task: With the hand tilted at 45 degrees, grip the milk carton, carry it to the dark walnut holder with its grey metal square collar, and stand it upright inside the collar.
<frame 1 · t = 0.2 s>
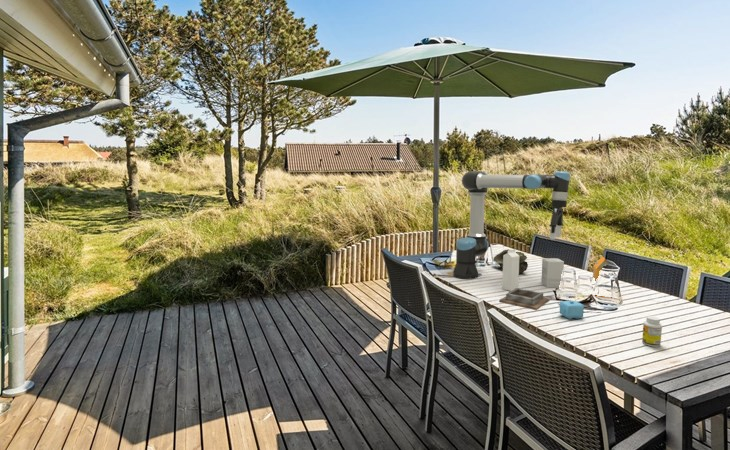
hand: (555, 238, 220), 27 cm above the table, tool pointing down, fingers open, 13 cm apart
orange juice: (601, 294, 207), on the table
supplement bottle: (650, 344, 147), on the table
supplement box: (551, 285, 225), on the table
hollow geode rock: (510, 271, 258), on the table
light blue block: (568, 317, 175), on the table
holder: (524, 301, 197), on the table
milk: (509, 289, 219), on the table
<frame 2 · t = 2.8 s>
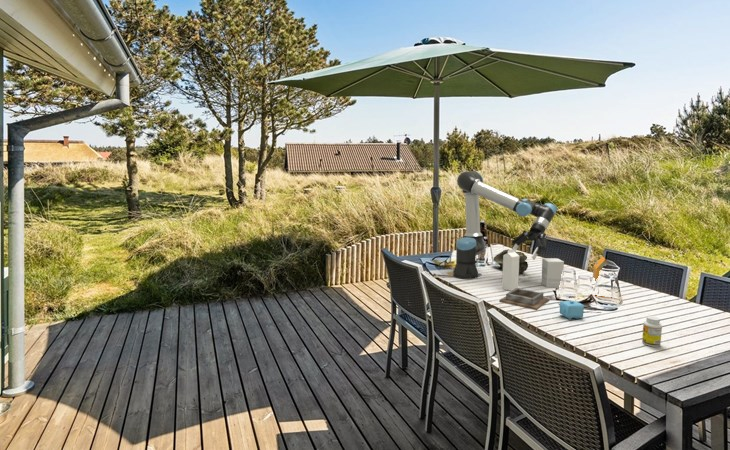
hand: (521, 256, 219), 18 cm above the table, tool tilted 45°, fingers open, 13 cm apart
nothing on the table moved.
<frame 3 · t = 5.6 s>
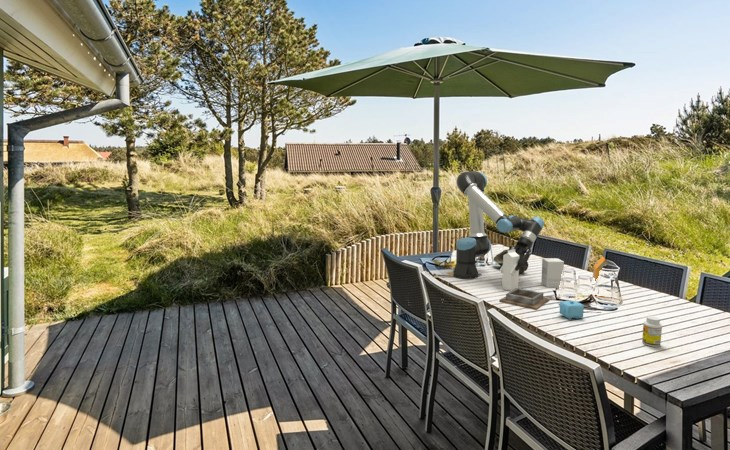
hand: (506, 273, 215), 9 cm above the table, tool tilted 45°, fingers closed on milk, 6 cm apart
milk: (509, 289, 219), on the table, touching gripper
everything else where it was.
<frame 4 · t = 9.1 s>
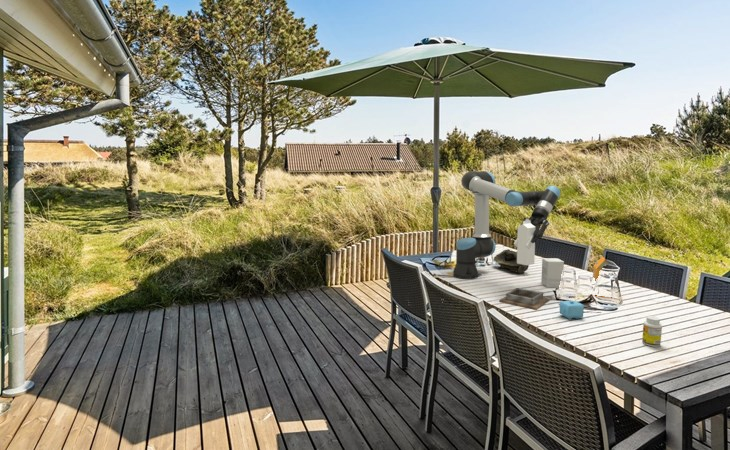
hand: (521, 246, 197), 27 cm above the table, tool tilted 45°, fingers closed on milk, 6 cm apart
milk: (525, 264, 200), point 18 cm above the table, touching gripper
everything else where it was.
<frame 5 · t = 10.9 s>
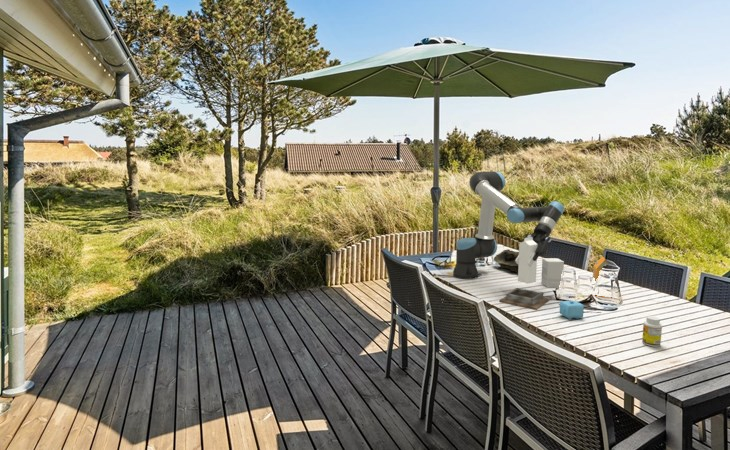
hand: (522, 263, 192), 20 cm above the table, tool tilted 45°, fingers closed on milk, 6 cm apart
milk: (526, 281, 195), point 10 cm above the table, touching gripper
everything else where it was.
when the fingers open (12 cm above the table, at t = 12.6 s): milk drops 1 cm, resting on holder.
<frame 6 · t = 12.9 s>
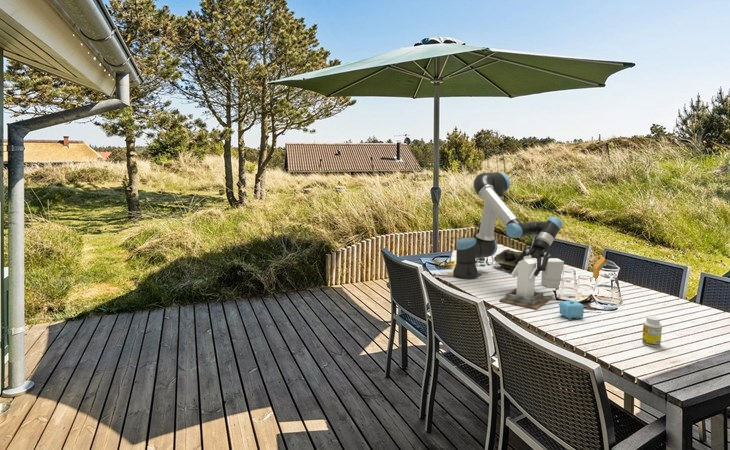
hand: (521, 278, 194), 12 cm above the table, tool tilted 45°, fingers open, 9 cm apart
milk: (524, 299, 197), point 1 cm above the table, touching holder
everything else where it was.
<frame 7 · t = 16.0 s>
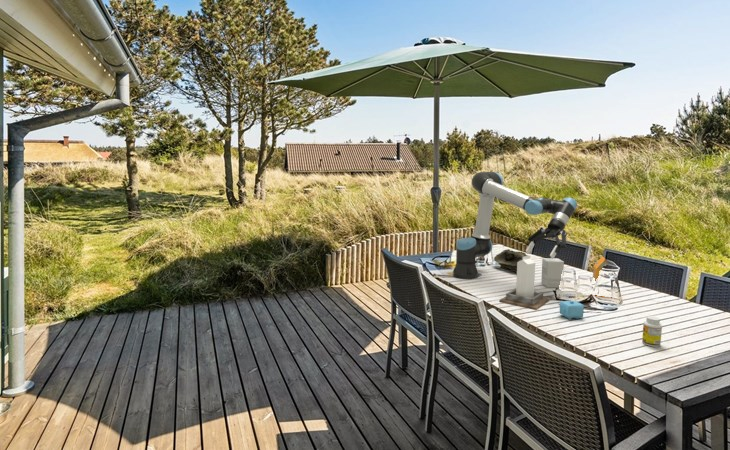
hand: (538, 254, 200), 22 cm above the table, tool tilted 45°, fingers open, 13 cm apart
nothing on the table moved.
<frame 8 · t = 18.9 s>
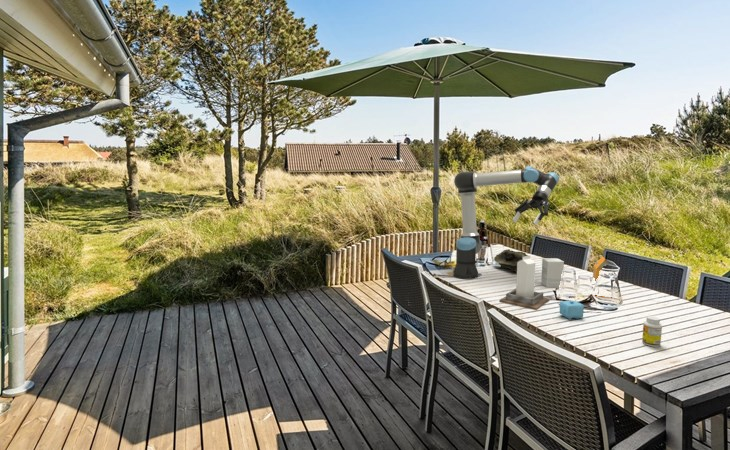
hand: (524, 222, 222), 36 cm above the table, tool tilted 45°, fingers open, 13 cm apart
at the end: milk 0.1 cm off-centre on the holder, point 0.8 cm above the holder's base; milk tilted 0°; the gripper is holding nothing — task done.
